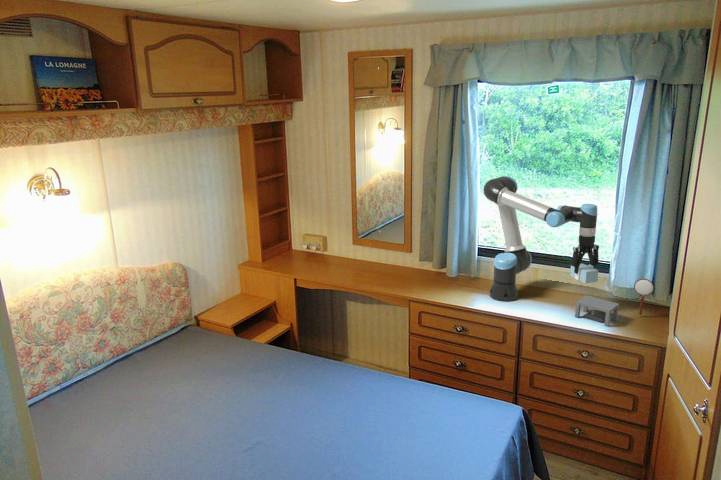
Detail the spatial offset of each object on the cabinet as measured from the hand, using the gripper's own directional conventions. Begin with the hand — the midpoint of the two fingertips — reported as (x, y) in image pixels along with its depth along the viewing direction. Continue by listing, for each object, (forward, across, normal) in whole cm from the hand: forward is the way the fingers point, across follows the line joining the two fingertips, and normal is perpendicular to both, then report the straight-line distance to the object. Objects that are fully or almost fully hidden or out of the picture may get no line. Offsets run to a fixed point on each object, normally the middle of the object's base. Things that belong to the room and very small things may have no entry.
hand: (583, 278), depth 270 cm
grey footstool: (+16, -2, -14) cm, 21 cm away
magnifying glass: (+17, +20, -19) cm, 32 cm away
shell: (0, 0, 0) cm, 0 cm away
